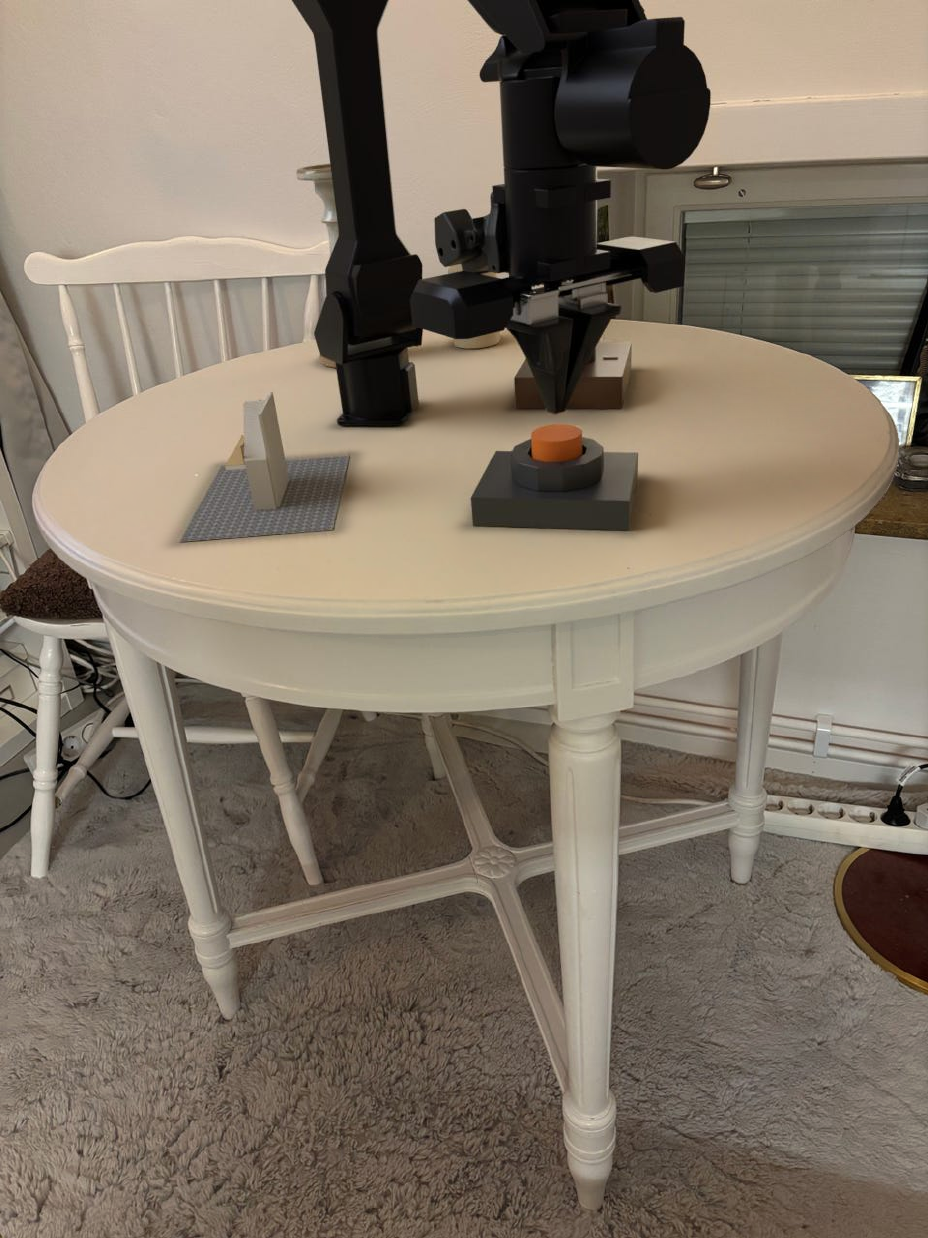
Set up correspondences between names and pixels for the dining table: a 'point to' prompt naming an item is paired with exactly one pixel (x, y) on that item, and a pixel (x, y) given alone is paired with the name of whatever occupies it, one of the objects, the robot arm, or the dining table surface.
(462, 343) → the candle
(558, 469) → the push button base
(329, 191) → the candle holder
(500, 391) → the dining table surface
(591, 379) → the panel
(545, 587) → the dining table surface
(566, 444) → the spray button
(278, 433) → the architectural model
